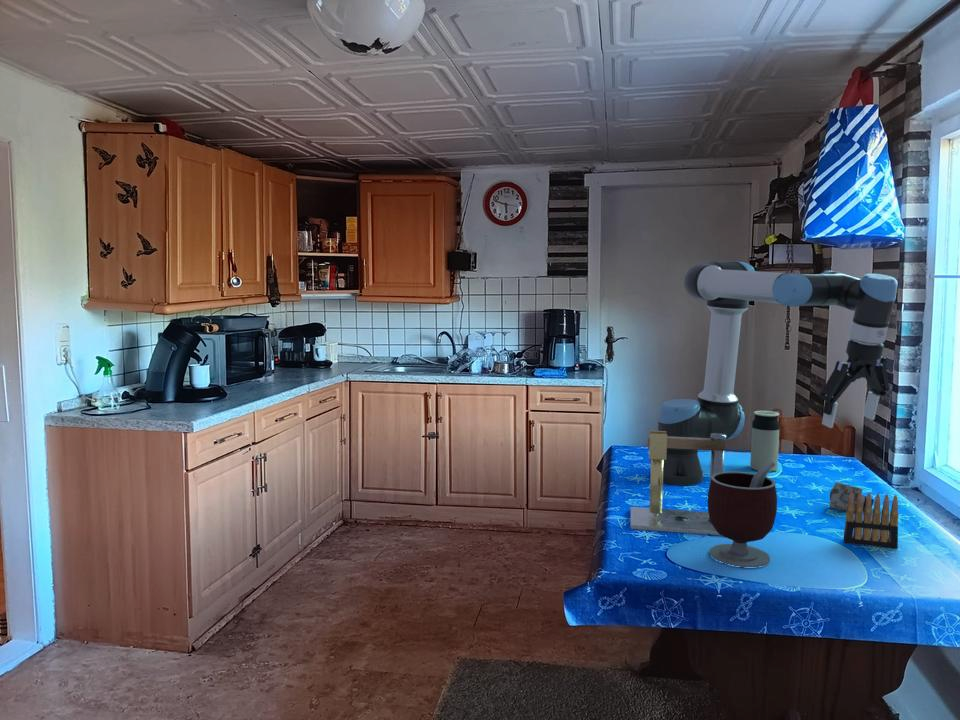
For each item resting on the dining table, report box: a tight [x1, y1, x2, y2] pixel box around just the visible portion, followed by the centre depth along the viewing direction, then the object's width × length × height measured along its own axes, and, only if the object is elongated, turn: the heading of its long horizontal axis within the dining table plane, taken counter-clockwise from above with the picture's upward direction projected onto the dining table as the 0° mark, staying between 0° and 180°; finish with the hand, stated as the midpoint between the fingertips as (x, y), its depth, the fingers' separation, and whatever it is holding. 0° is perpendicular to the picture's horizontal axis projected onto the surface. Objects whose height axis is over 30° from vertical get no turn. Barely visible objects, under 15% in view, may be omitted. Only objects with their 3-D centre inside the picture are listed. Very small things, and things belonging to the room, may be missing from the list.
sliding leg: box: [648, 430, 667, 516], centre depth 176 cm, size 4×6×21 cm
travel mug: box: [749, 410, 780, 472], centre depth 225 cm, size 8×8×18 cm
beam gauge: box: [630, 433, 727, 536], centre depth 174 cm, size 26×14×22 cm, turn 78°
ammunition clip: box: [842, 491, 899, 550], centre depth 161 cm, size 11×2×12 cm, turn 72°
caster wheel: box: [828, 481, 875, 514], centre depth 188 cm, size 7×11×10 cm
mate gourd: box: [707, 462, 778, 567], centre depth 153 cm, size 16×14×20 cm
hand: (848, 421), depth 177 cm, fingers open, 13 cm apart
